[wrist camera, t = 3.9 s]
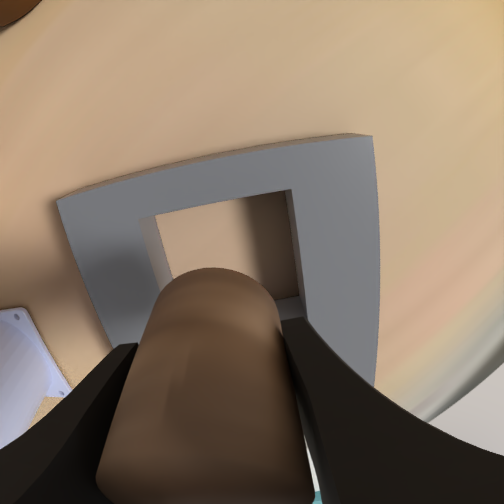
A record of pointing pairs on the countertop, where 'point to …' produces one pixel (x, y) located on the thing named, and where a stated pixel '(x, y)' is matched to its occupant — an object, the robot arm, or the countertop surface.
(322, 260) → the housing
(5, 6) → the mug
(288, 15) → the countertop surface
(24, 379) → the robot arm
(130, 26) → the countertop surface
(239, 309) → the peg
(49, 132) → the countertop surface
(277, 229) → the countertop surface
